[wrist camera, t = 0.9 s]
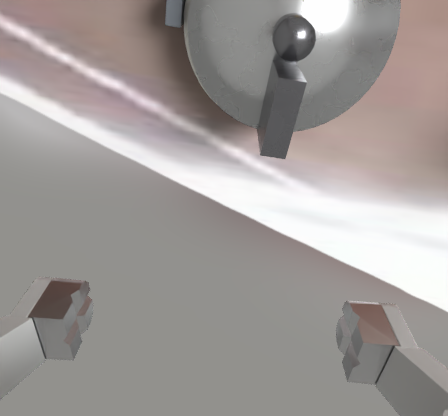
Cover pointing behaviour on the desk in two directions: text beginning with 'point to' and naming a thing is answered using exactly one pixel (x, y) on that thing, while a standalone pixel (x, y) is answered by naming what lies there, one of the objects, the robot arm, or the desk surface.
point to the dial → (289, 59)
